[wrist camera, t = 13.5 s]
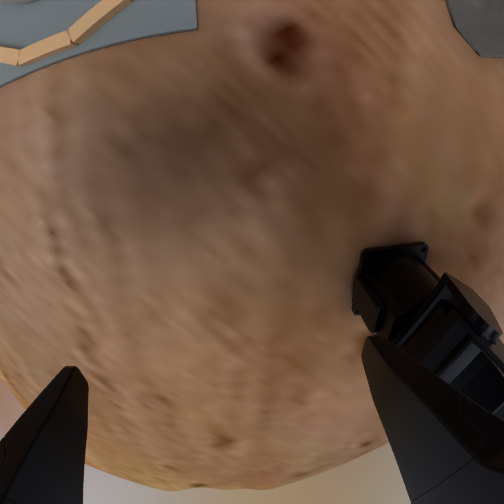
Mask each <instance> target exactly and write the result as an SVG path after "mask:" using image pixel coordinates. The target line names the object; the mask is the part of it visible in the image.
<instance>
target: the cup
mask: <svg viewBox="0 0 504 504" xmlns="http://www.w3.org/2000/svg"><path fill="white" fill-rule="evenodd" d="M0 1H3V2H7V3H15V4H24V3H29V2H33V1H35V0H0Z"/></svg>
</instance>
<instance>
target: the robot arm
mask: <svg viewBox="0 0 504 504" xmlns="http://www.w3.org/2000/svg"><path fill="white" fill-rule="evenodd" d="M422 248H423V249H422ZM427 251H428V245H426V244H425V243H424V242H420V243H412V244H404V245H396V246H388V247H380V248H372V249H366V250H364V251H363V252H362V254H361V259H360V266H359V272H358V275H357V277H356V281H355V286H354V292H353V298H352V301H353V306H352V312H353V313H354V315H361V317H362V319H363V321H364V322H365V324H366V326H367V328H368V330H369V331H370V332H371V333H372V334H373V333H376V335H372V336H368V337H367V338H366V340H365V344H364V347H363V350H362V355H361V357H362V362H363V366H364V369H365V373H366V376H367V380H368V384H369V387H370V391H371V395H372V398H373V401H374V404H375V407H376V409H377V412H378V414H379V417H380V419H381V422H382V424H383V427H384V429H385V432H386V435H387V437H388V440H389V443H390V445H391V447H392V451H393V453H394V456H395V458H396V461H397V464H398V467H399V470H400V472H401V475H402V478H403V481H404V484H405V486H406V490H407V492H408V495H409V498H410V501H411V504H504V344H503V343H502V342H501V340H500V339H499V338H500V336H501V335H502V334H503V332H502V330H501V328H500V326H499V324H498V322H497V320H496V318H495V316H494V314H493V312H492V311H491V309H490V307H489V306H488V305H487V304H486V303H485V302H484V301H483V300H482V298H481V297H480V296H479V295H477V294H476V293H475V292H474V291H473V290H472V289H471V288H470V287H468V286H467V285H465V284H463V283H462V282H460V281H459V280H457V279H456V278H454V277H452V276H451V275H449V274H448V273H446V272H444V274H443V275H442V277H441V279H440V278H439V277H438V276H437V275H436V273H435V272H434V271H433V270H432V269H431V268H430V267H429V266H428V265H427V264H426V263H425V259H426V255H427ZM367 255H369V256H368V257H366V256H367ZM88 391H89V387H88V383H87V380H86V379H85V378H84V376H83V375H82V373H81V371H80V370H79V369H78V367H76V366H65V367H64V368H63V369H62V370H61V371H60V372H59V373H58V374H57V375H56V377H55V378H54V379H53V380H52V381H51V382H50V383H49V384H48V385H47V387H46V388H45V389H44V390H43V391H42V392H41V393H40V395H39V396H38V397H37V398H36V399H35V400H34V401H33V403H32V404H31V405H30V406H29V407H28V408H27V410H26V411H25V412H24V413H23V414H22V415H21V417H20V418H19V419H18V420H17V421H16V423H15V424H14V425H13V426H12V427H11V429H10V430H9V431H8V432H7V433H6V435H5V437H3V438H2V440H1V441H0V504H83V482H84V464H85V451H86V440H87V429H88Z"/></svg>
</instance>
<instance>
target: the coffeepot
mask: <svg viewBox="0 0 504 504" xmlns="http://www.w3.org/2000/svg"><path fill="white" fill-rule="evenodd" d="M446 4H447V7H448V10H449V13H450V15H451V18H452V20H453V22H454V24H455V26H456V28H457V30H458V31H459V32H460V34H461V35H462V37H463V38H464V39H465V40H466V42H467V43H468V44H469V45H470V46H471V47H472V48H473V49H474V50H476V51H477V52H478V53H479V55H480V56H481V57H489V58H504V0H446Z"/></svg>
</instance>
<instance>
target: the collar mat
mask: <svg viewBox="0 0 504 504" xmlns="http://www.w3.org/2000/svg"><path fill="white" fill-rule="evenodd" d="M193 30H197V14H196V0H35V1H33V2H29V3H24V4H15V3H7V2H3V1H0V87H2V86H4V85H6V84H8V83H10V82H12V81H14V80H16V79H19V78H21V77H23V76H25V75H28V74H30V73H32V72H35V71H37V70H39V69H42V68H44V67H47V66H50V65H52V64H55V63H58V62H60V61H63V60H66V59H69V58H72V57H75V56H78V55H81V54H84V53H87V52H91V51H94V50H98V49H101V48H105V47H109V46H112V45H116V44H120V43H125V42H129V41H133V40H138V39H143V38H148V37H153V36H159V35H165V34H171V33H178V32H185V31H193Z"/></svg>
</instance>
